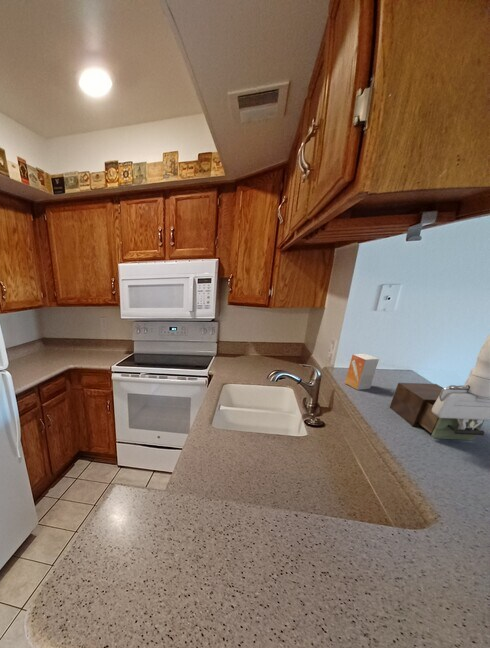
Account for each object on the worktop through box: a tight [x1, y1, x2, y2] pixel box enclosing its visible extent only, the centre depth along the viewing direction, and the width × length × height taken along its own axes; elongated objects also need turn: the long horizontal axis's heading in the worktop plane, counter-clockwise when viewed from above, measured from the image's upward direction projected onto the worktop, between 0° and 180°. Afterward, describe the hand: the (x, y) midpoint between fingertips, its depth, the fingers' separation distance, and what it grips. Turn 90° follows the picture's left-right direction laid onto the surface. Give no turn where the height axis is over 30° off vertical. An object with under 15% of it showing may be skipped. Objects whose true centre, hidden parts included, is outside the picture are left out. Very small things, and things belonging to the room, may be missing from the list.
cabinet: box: [389, 382, 445, 428], centre depth 111 cm, size 16×13×10 cm
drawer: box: [417, 402, 485, 441], centre depth 100 cm, size 19×11×8 cm, turn 174°
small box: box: [344, 353, 380, 391], centre depth 137 cm, size 8×6×13 cm
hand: (464, 431), depth 94 cm, fingers closed, pressing on drawer
